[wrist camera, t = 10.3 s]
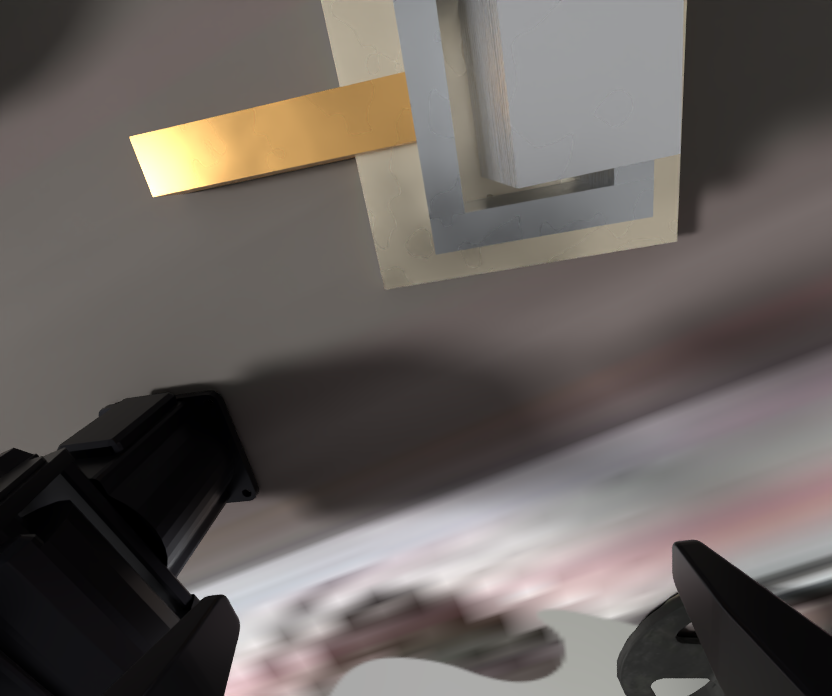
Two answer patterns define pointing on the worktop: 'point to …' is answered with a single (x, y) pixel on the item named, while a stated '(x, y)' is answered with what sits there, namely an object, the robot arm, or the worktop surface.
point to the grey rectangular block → (572, 85)
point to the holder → (664, 653)
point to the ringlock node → (418, 156)
